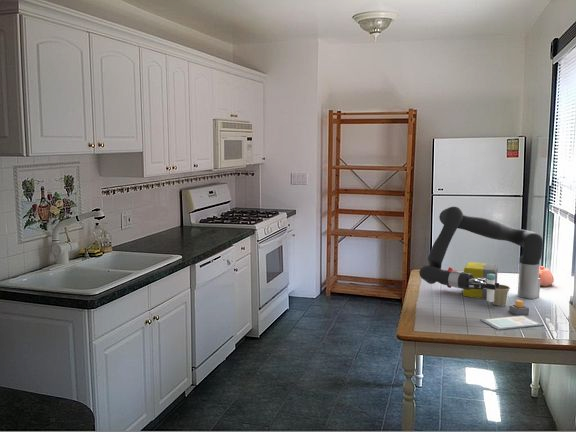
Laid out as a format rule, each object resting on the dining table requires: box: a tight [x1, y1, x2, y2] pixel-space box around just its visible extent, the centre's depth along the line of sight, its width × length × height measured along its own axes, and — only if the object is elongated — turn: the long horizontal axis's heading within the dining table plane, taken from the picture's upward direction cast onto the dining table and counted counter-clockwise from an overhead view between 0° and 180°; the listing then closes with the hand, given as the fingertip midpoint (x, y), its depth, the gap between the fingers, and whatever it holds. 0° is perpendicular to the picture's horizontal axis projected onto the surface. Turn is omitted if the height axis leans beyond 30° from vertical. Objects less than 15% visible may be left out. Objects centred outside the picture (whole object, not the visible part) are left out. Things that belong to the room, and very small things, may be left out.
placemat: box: [480, 315, 544, 331], centre depth 238 cm, size 22×13×1 cm, turn 103°
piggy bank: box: [539, 265, 555, 288], centre depth 298 cm, size 12×14×10 cm
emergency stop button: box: [446, 261, 499, 300], centre depth 283 cm, size 15×24×15 cm, turn 65°
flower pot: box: [491, 284, 511, 307], centre depth 264 cm, size 9×9×9 cm
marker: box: [486, 274, 495, 303], centre depth 244 cm, size 3×3×12 cm
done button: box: [514, 299, 525, 308], centre depth 251 cm, size 4×4×4 cm
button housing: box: [508, 304, 530, 316], centre depth 251 cm, size 6×6×3 cm
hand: (497, 286), depth 242 cm, fingers closed on marker, 3 cm apart
